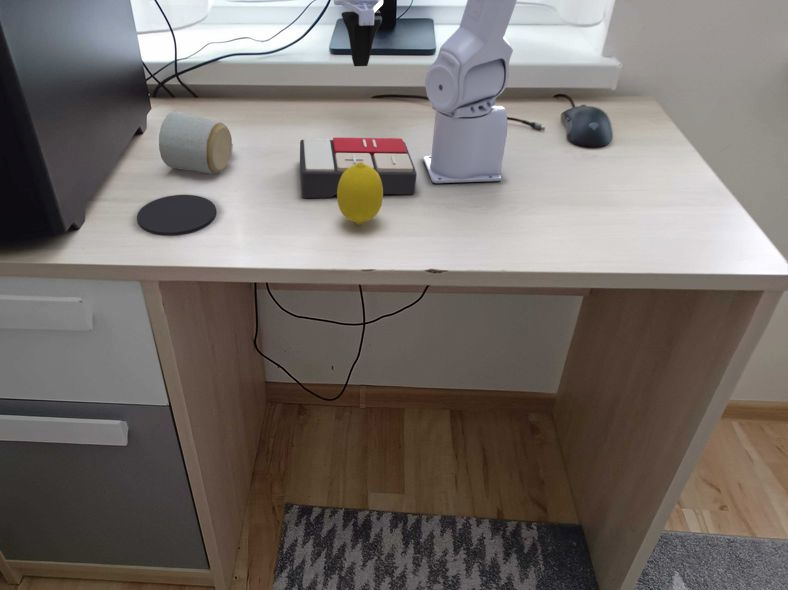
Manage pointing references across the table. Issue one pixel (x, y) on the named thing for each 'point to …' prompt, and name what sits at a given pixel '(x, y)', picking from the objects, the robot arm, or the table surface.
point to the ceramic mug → (194, 143)
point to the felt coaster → (176, 214)
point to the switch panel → (333, 157)
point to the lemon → (360, 193)
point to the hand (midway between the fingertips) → (360, 64)
